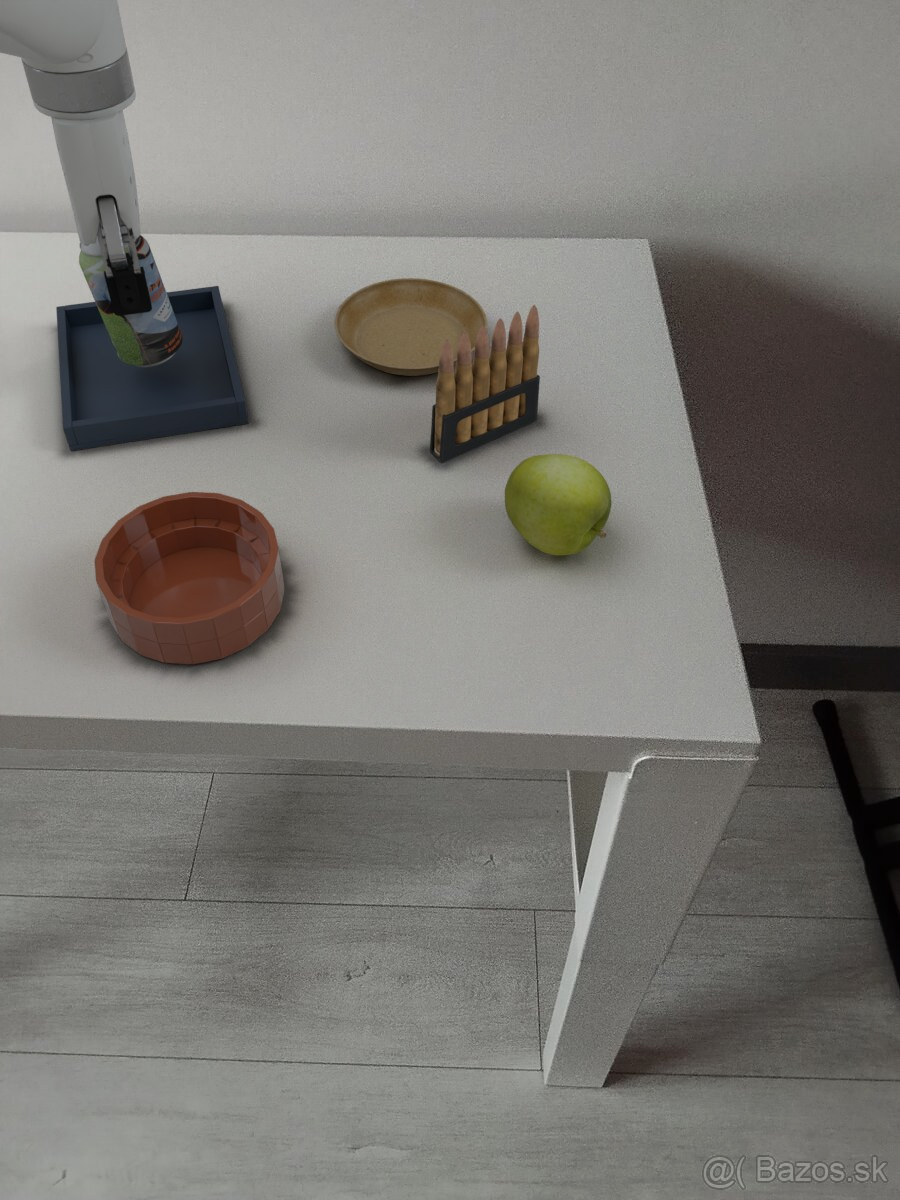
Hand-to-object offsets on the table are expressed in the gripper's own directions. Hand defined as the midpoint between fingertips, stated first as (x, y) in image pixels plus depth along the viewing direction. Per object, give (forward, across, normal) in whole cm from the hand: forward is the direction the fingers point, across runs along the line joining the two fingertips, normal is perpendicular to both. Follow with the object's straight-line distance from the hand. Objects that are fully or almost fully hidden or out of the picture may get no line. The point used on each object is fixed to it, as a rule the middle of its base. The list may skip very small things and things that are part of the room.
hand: (130, 288), depth 91 cm
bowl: (+9, +29, +1) cm, 30 cm away
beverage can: (+7, 0, 0) cm, 7 cm away
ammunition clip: (+9, +16, +28) cm, 34 cm away
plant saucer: (+9, +1, +25) cm, 27 cm away
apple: (+10, +30, +30) cm, 43 cm away
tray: (+9, 0, 0) cm, 9 cm away
